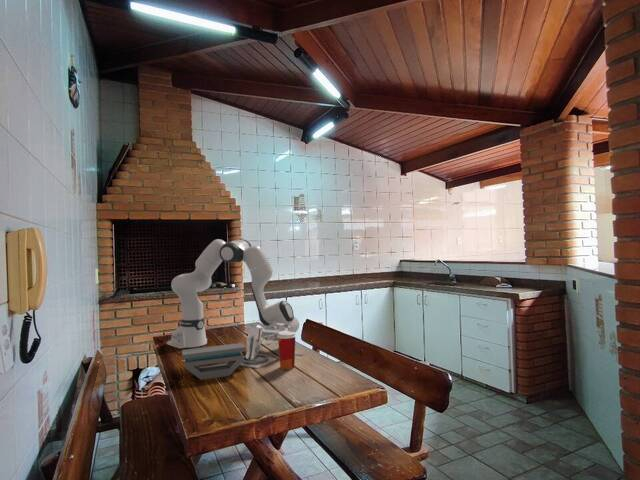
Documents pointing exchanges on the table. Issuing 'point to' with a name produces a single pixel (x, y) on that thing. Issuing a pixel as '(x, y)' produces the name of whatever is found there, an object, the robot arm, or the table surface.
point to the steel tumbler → (254, 341)
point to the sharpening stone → (213, 360)
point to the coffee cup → (286, 349)
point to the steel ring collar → (256, 361)
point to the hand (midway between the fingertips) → (258, 337)
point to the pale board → (258, 364)
